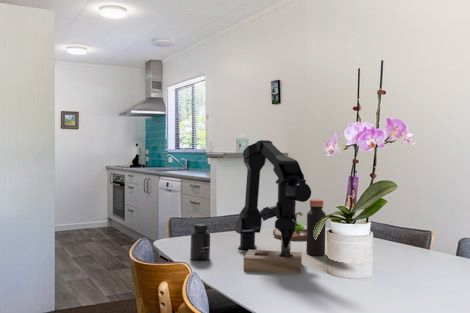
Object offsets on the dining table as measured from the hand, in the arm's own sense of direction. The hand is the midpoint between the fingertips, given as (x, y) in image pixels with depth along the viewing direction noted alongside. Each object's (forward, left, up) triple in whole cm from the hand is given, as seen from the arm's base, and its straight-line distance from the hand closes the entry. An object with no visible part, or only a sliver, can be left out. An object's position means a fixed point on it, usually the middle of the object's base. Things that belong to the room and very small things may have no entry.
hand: (285, 246), depth 144 cm
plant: (-55, +2, -8) cm, 56 cm away
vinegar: (-22, +10, -7) cm, 25 cm away
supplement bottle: (-6, -30, -7) cm, 31 cm away
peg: (0, 0, -4) cm, 4 cm away
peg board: (0, -4, -7) cm, 8 cm away
